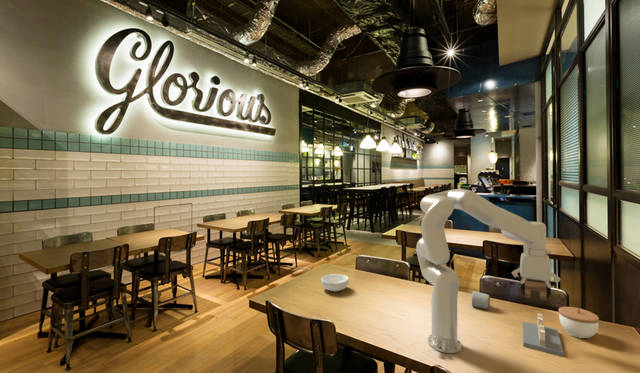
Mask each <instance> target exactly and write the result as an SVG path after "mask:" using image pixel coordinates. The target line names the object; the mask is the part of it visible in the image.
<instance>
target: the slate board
mask: <svg viewBox="0 0 640 373" xmlns="http://www.w3.org/2000/svg"><path fill="white" fill-rule="evenodd" d="M543 326H544V325H543ZM544 329H545V347H544V346H540V342H539V334H538V325H537V324H536V323H531V322H527V321H522V337H523V338H522V339H523V342H522V343H523V347H524V348H530V349H533V350H537V351H541V352H545V353H548V354H552V355H556V356H559V357H564V351H563V347H562V341H561V338H560V334H559V330H558V328H554V327H551V326H550V327H549V326H544Z"/></svg>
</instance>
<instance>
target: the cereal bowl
mask: <svg viewBox="0 0 640 373" xmlns="http://www.w3.org/2000/svg"><path fill="white" fill-rule="evenodd" d="M320 282H321V286H322V287H323V289H325V290H326V291H329V290H330V291H329V292H331V291H334V292H333V293H336V292H335V291H339V292H341V291H342V290H344V289H346V288H347V286H348V285H349V277H348V276H347V275H344V274H341V273H332V274H331V273H330V274H326V275H323V276H322V277H321V280H320ZM340 290H341V291H340Z"/></svg>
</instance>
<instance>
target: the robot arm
mask: <svg viewBox="0 0 640 373" xmlns="http://www.w3.org/2000/svg"><path fill="white" fill-rule="evenodd" d="M419 205H420V209H421V212H423V213H424V216H423V218H422V221H421V225H420V231H421V236H422V237H420V238H419V239H418V241H417V242H416V247H415V250H416V255H417V259H418V263H419V264H418V265H419V267H420V268H419V269H420V272H421V274H422V276H423V278H424V279H425V280H426V281H427V282H428V283H430V284H431V285H432V286H433V291H432V293H431V301H430V303H431V334H430V335H429V336H428V337H427V343H428V345H429V346H430V347H431V348H432V349H433V350H435V351H438V352H440V353H441V352H442V353H443V354H444V353H445V354H457V353H459V352H461V351H462V349H463V345H462V342H461V341H460V340H459V339H458V295H459V290H460V283H461V282H460V278H459V275H458V273H457V272H456V271H455V270H454V269H453V268H451V267H449V266H447V265H446V264H447V263H448V262H449V261H450V258H451V257H450V255H451V254H450V250H449V246H448V242H447V237H446V232H445V223H447V222H446V221H447V220H448V218H450V216H451V215H452V213H453V211H454V209H455V210H460V211H461V212H464V213H466V214H468V215H470V216H471V217H473V218H474V219H475V220H478V221H479V222H481V223H482V224H484V225H487V226H488V227H489V226H490V227H491V228H496V229H499V230H501V234H502V235H503V236H504V237H505V238H506V239H509V240H511V241H514V242H515V241H517V242H520V243H523V252H522V253H521V255H520V261H519V262H520V264H519V267H518V268H516V269H514V270H513V271H511V274H512V276H513V277H514V278H515V280H517V281H518V282H519V284H520V291H521V292H522V293H523V295H525V280H526V279H532V280H540V281H545V283H546V290H547V298H550V296H551V294H552V291H551V290H552V287H555V285H557V284H558V283H559V282H561V277H559V276H558V275H556V274H555V273H554V272H552V270H551V268H552V267H551V261H550V257H549V255H551V254H552V250H549V249H547V226H546V224H545V223H544V222H541V221H528V220H527V219H526V218H523V217H522V216H519V215H518V214H515V213H513V212H511V211H508V210H506V209H505V208H502V207H499V206H498V205H495V204H493V203H492V202H490V201H489V200H487V199H486V198H484V197H482V196H480V195H479V194H478V193H476V192H475V191H472V190H469V189H462V188H461V189H459V188H455V189H449V190H444V191H441V192H435V193H432V194H427V195H425V196H424V197H422V198H421V200H420V203H419ZM518 274H520V275H518ZM552 279H553V280H552Z"/></svg>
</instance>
